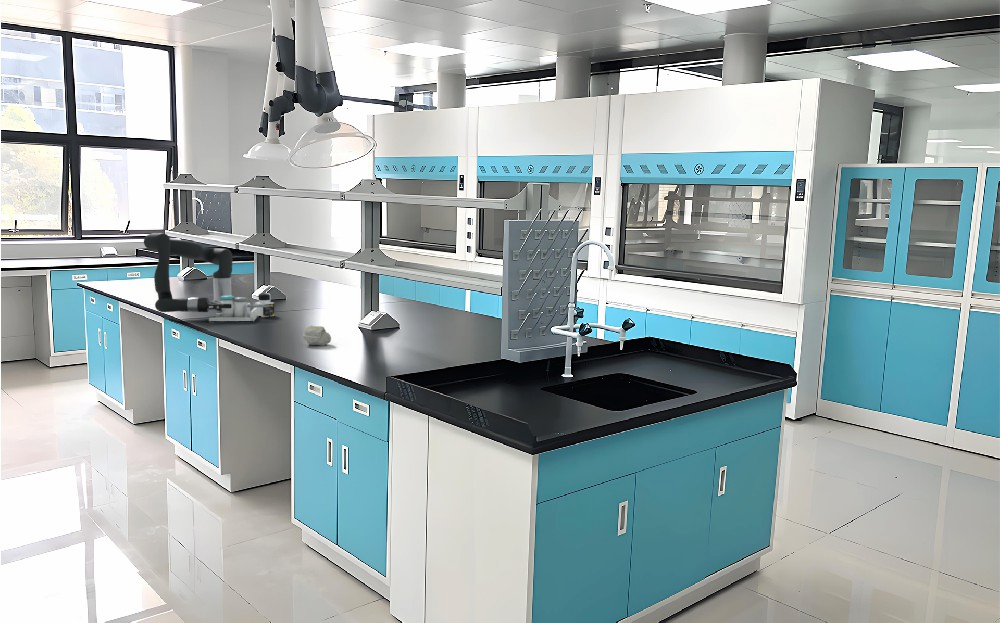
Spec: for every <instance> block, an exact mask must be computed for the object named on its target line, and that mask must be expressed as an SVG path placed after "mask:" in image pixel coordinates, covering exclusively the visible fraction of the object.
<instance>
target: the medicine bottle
mask: <svg viewBox="0 0 1000 623" xmlns="http://www.w3.org/2000/svg"><path fill="white" fill-rule="evenodd" d="M271 298H272V297H271V294H270V293H267V292H265V293H264V292H261V293H259V294H258V301H257V302H256V301H255V303H254V305H269V307H254V308H257V317H259V316H261V317H260V318H267V317H268V318H270V317H274V316H275V302H272V301H271ZM269 316H270V317H269Z"/></svg>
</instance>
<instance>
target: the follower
mask: <svg viewBox="0 0 1000 623" xmlns="http://www.w3.org/2000/svg"><path fill="white" fill-rule="evenodd" d="M255 307H269V305H255V304H251V302H247V304H246V305H245V317H250V312H251V308H255Z"/></svg>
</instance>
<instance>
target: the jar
mask: <svg viewBox="0 0 1000 623" xmlns="http://www.w3.org/2000/svg"><path fill="white" fill-rule="evenodd" d="M234 298H235V296H234V295H231V296H230V295H227V296H221V304H222V303H223V305H224V304H231V305H232V308H224V309H221V313H222V317H234Z"/></svg>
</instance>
